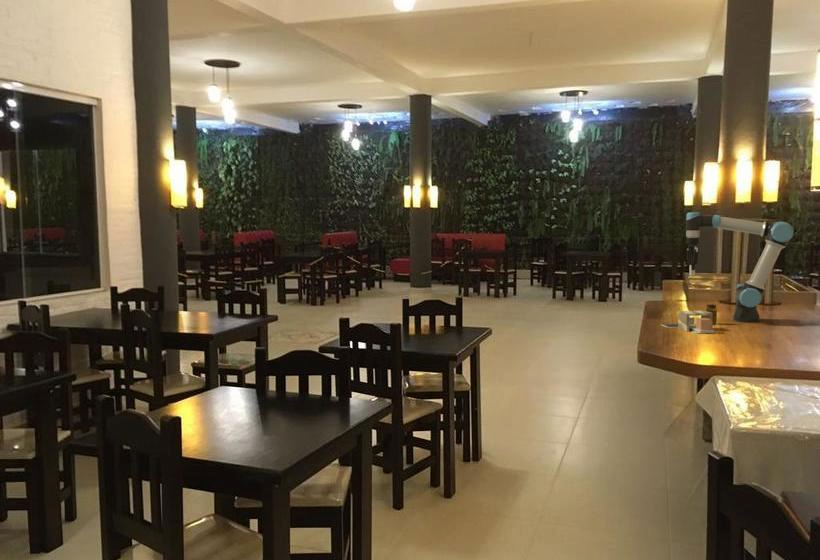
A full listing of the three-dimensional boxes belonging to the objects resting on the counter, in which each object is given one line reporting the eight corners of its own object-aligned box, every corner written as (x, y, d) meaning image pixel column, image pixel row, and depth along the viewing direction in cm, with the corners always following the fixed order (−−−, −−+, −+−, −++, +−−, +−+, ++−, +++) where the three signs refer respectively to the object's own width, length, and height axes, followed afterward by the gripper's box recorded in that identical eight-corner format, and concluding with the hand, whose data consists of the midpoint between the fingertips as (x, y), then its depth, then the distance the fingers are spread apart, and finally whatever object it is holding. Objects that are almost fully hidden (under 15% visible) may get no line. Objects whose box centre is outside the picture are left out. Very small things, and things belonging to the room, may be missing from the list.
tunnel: (703, 327, 411) (703, 310, 410) (712, 330, 400) (712, 313, 399) (678, 328, 410) (678, 311, 409) (686, 331, 399) (686, 313, 398)
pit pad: (688, 324, 423) (688, 323, 423) (696, 326, 413) (696, 326, 413) (661, 325, 423) (661, 324, 423) (667, 327, 413) (668, 327, 413)
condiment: (719, 324, 421) (719, 304, 420) (711, 325, 417) (711, 306, 415) (708, 322, 427) (709, 303, 426) (700, 324, 423) (700, 304, 421)
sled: (694, 325, 414) (694, 313, 414) (714, 332, 390) (714, 319, 389) (681, 326, 414) (681, 314, 413) (700, 332, 389) (700, 320, 389)
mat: (709, 331, 398) (709, 330, 398) (715, 333, 391) (715, 332, 391) (691, 331, 398) (691, 331, 398) (696, 333, 391) (696, 333, 391)
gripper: (682, 237, 433) (681, 274, 435) (691, 237, 420) (691, 276, 422) (693, 236, 433) (693, 274, 435) (703, 237, 420) (703, 276, 422)
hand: (692, 275), depth 429 cm, fingers closed
